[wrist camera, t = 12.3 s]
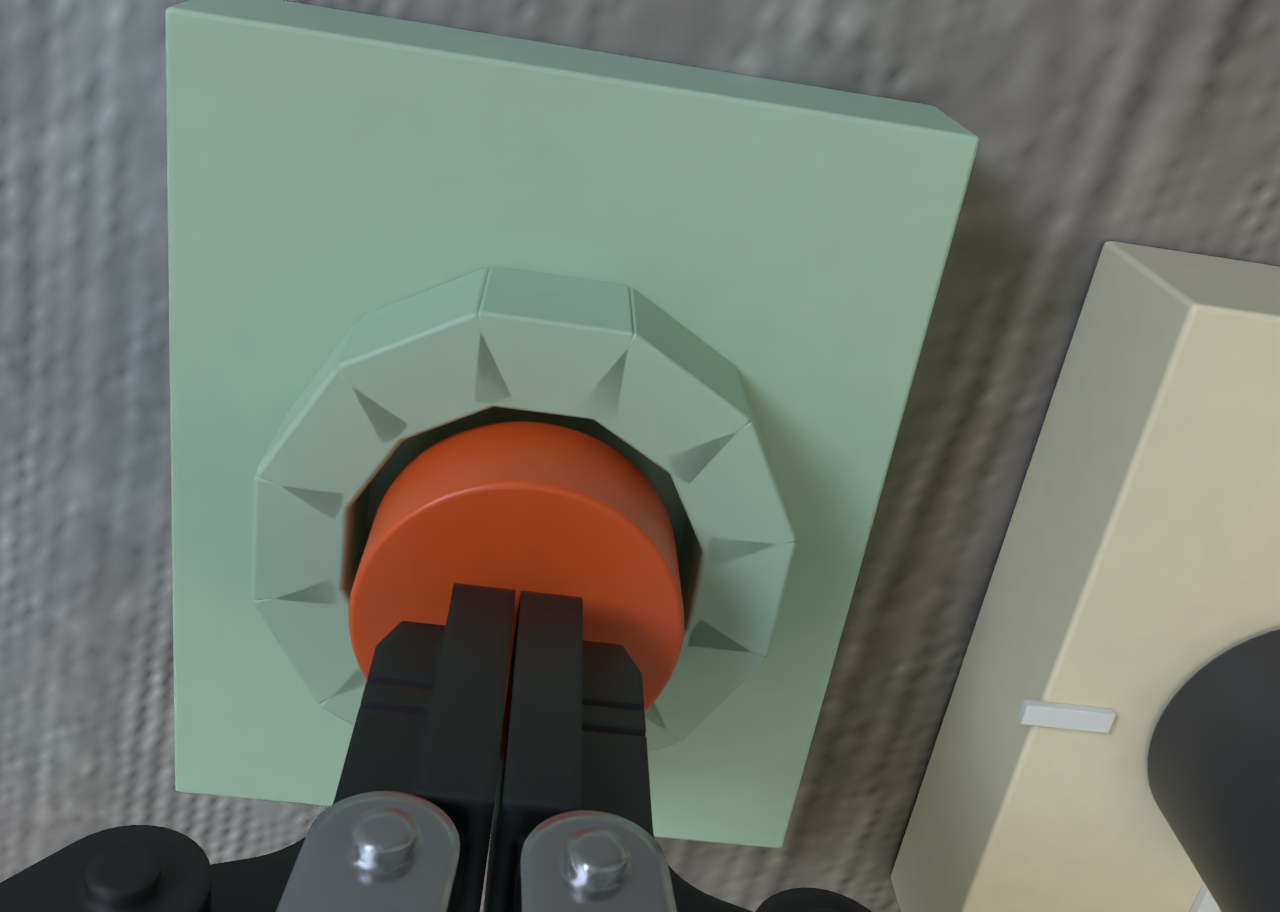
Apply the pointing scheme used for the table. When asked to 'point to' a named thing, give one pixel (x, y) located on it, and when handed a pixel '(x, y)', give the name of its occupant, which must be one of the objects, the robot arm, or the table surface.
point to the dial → (1226, 774)
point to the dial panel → (1111, 598)
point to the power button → (525, 541)
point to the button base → (529, 357)
